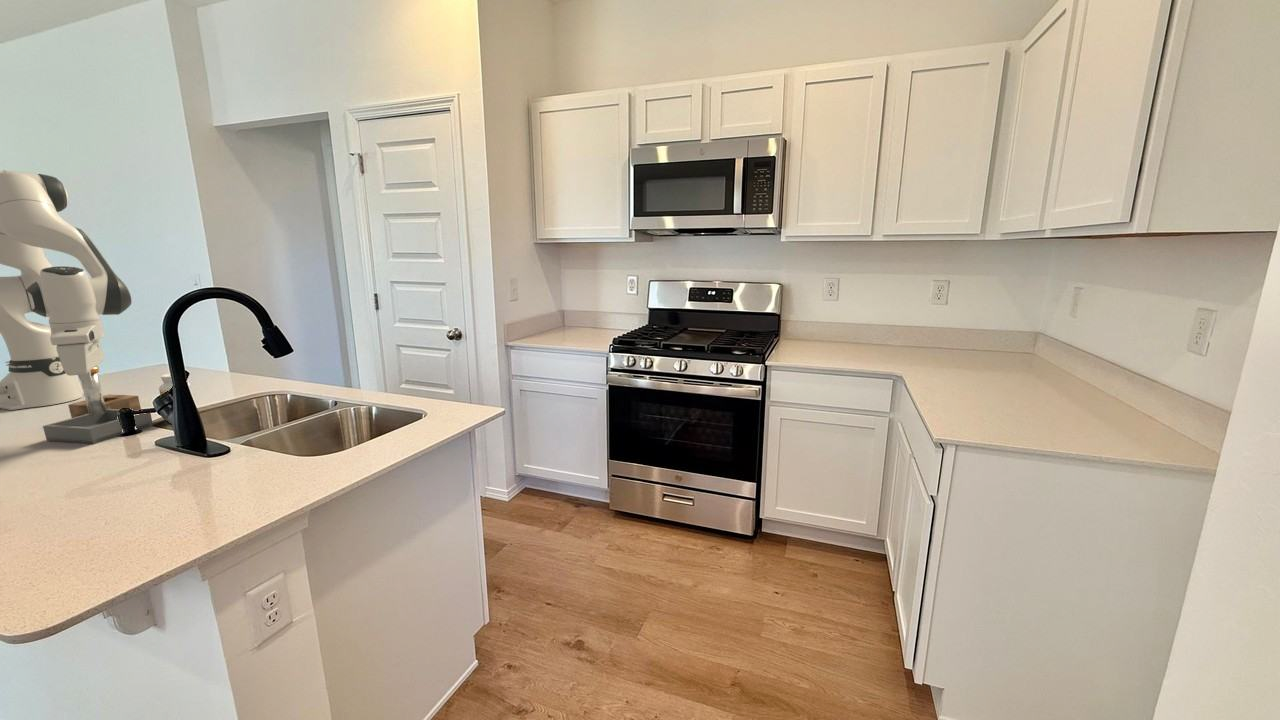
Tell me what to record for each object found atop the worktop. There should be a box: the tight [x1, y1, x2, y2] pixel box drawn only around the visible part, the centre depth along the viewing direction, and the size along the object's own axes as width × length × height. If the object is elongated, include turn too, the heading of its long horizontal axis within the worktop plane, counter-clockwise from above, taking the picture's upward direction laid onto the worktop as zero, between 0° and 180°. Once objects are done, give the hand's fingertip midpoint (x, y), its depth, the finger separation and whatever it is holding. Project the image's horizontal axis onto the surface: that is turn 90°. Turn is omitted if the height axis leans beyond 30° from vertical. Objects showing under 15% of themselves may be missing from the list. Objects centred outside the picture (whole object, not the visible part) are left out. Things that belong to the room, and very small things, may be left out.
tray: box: [42, 409, 154, 445], centre depth 135 cm, size 14×14×4 cm
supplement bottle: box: [158, 373, 193, 397], centre depth 146 cm, size 7×7×13 cm
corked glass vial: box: [80, 365, 107, 415], centre depth 133 cm, size 4×4×12 cm
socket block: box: [67, 394, 142, 419], centre depth 148 cm, size 10×10×5 cm
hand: (90, 385), depth 133 cm, fingers closed on corked glass vial, 3 cm apart
